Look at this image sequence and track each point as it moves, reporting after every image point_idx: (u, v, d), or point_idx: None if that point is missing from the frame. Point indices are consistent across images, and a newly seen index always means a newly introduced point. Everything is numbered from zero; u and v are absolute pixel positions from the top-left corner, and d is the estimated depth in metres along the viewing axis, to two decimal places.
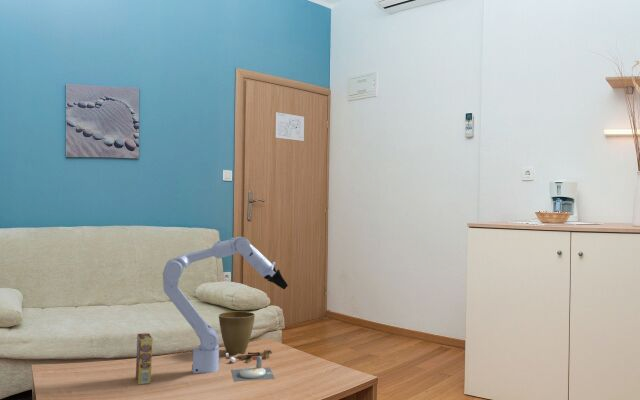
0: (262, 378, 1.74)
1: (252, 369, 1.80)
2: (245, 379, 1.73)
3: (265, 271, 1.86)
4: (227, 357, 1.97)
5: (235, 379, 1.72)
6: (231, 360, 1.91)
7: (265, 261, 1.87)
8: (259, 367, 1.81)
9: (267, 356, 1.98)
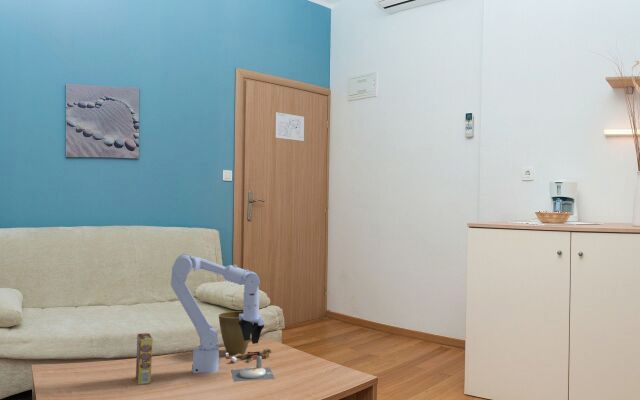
0: (262, 378, 1.74)
1: (252, 369, 1.80)
2: (245, 379, 1.73)
3: (252, 317, 1.84)
4: (227, 357, 1.97)
5: (235, 379, 1.72)
6: (232, 360, 1.92)
7: (258, 309, 1.86)
8: (259, 367, 1.81)
9: (267, 355, 1.99)
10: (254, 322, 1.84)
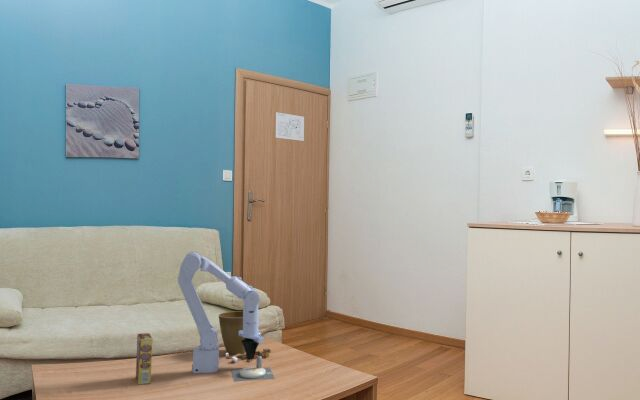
0: (262, 378, 1.74)
1: (252, 369, 1.80)
2: (245, 379, 1.73)
3: (252, 334, 1.84)
4: (227, 357, 1.97)
5: (235, 379, 1.72)
6: (233, 360, 1.92)
7: (257, 326, 1.86)
8: (259, 367, 1.81)
9: (267, 355, 1.99)
10: (253, 339, 1.84)
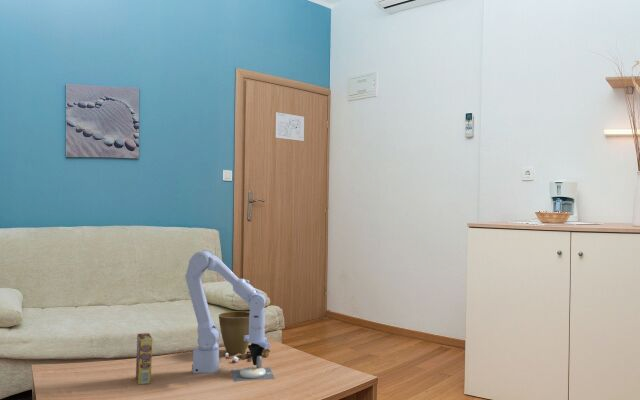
0: (262, 378, 1.74)
1: (252, 369, 1.80)
2: (245, 379, 1.73)
3: (258, 339, 1.81)
4: (227, 357, 1.97)
5: (235, 379, 1.72)
6: (234, 360, 1.92)
7: (264, 331, 1.83)
8: (259, 367, 1.81)
9: (267, 354, 2.01)
10: (260, 345, 1.81)
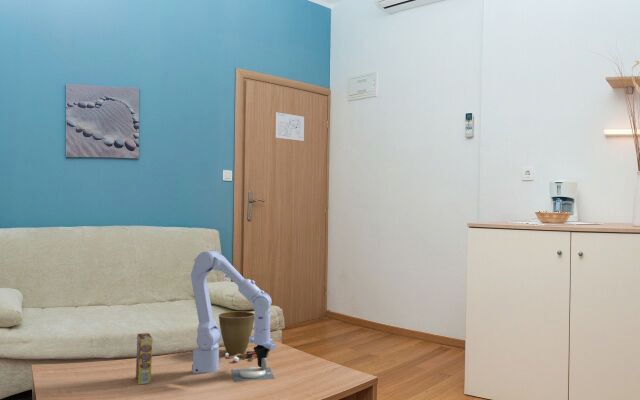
0: (262, 378, 1.74)
1: (255, 369, 1.79)
2: (245, 379, 1.73)
3: (263, 341, 1.78)
4: (227, 357, 1.97)
5: (235, 379, 1.72)
6: (234, 359, 1.92)
7: (269, 333, 1.80)
8: (262, 369, 1.79)
9: (267, 354, 2.01)
10: (265, 346, 1.78)
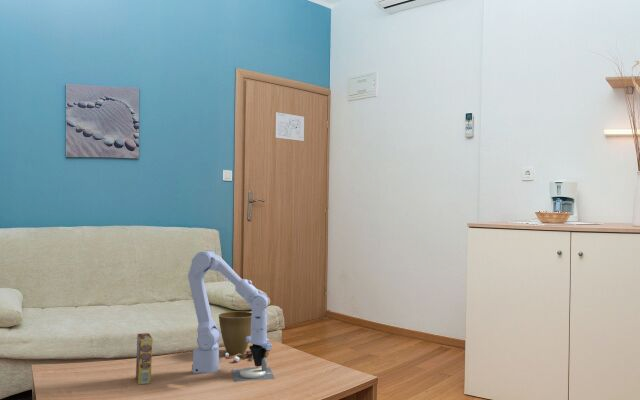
0: (262, 378, 1.74)
1: (256, 369, 1.79)
2: (245, 379, 1.73)
3: (260, 341, 1.79)
4: (227, 357, 1.97)
5: (235, 379, 1.72)
6: (235, 359, 1.92)
7: (266, 332, 1.81)
8: (262, 369, 1.78)
9: (267, 353, 2.01)
10: (262, 346, 1.79)
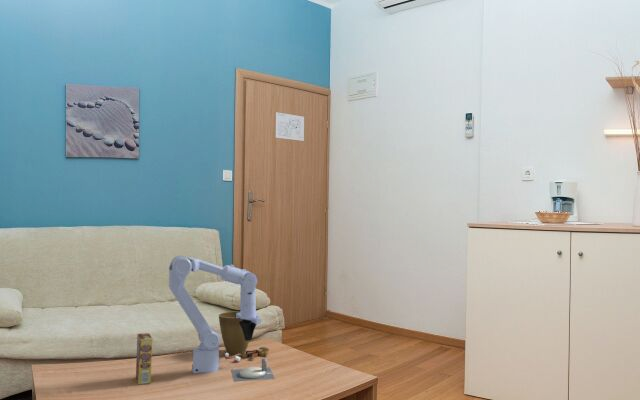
0: (262, 378, 1.74)
1: (256, 369, 1.79)
2: (245, 379, 1.73)
3: (249, 316, 1.86)
4: (227, 357, 1.97)
5: (235, 379, 1.72)
6: (236, 359, 1.92)
7: (255, 308, 1.88)
8: (262, 369, 1.78)
9: (266, 353, 2.02)
10: (251, 321, 1.86)
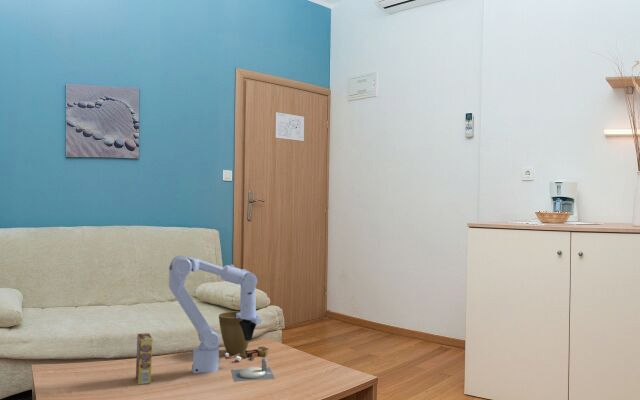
0: (262, 378, 1.74)
1: (256, 369, 1.79)
2: (245, 379, 1.73)
3: (249, 316, 1.86)
4: (228, 357, 1.97)
5: (235, 379, 1.72)
6: (237, 359, 1.93)
7: (255, 308, 1.88)
8: (262, 369, 1.78)
9: (266, 352, 2.03)
10: (251, 321, 1.86)
